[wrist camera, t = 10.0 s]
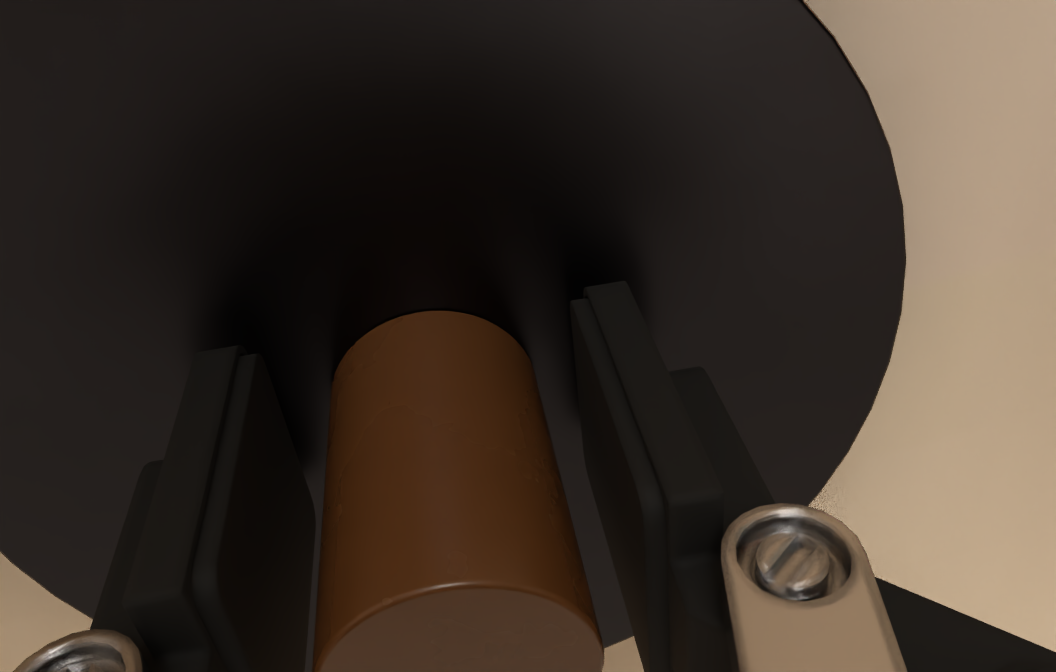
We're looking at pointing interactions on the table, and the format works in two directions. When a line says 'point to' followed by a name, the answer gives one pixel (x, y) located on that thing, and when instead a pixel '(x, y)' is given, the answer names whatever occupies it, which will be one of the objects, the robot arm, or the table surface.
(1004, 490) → the table surface
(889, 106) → the table surface
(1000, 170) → the table surface
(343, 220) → the pan lid
